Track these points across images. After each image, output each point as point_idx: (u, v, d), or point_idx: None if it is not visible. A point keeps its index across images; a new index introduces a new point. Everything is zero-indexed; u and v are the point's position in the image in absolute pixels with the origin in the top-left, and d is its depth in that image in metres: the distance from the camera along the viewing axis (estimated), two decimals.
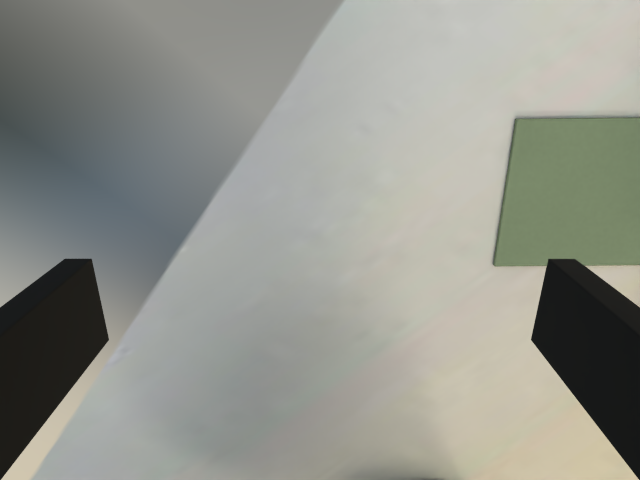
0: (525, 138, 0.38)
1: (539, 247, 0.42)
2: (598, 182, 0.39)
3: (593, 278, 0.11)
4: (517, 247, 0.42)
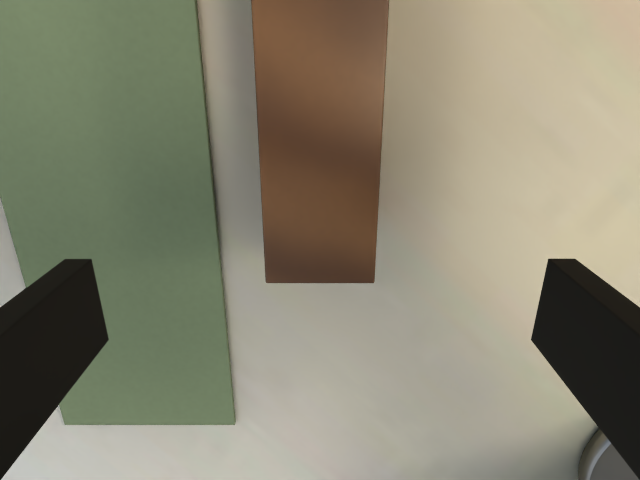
0: (82, 415, 0.35)
1: (206, 385, 0.34)
2: (115, 340, 0.33)
3: (593, 278, 0.11)
4: (208, 406, 0.35)
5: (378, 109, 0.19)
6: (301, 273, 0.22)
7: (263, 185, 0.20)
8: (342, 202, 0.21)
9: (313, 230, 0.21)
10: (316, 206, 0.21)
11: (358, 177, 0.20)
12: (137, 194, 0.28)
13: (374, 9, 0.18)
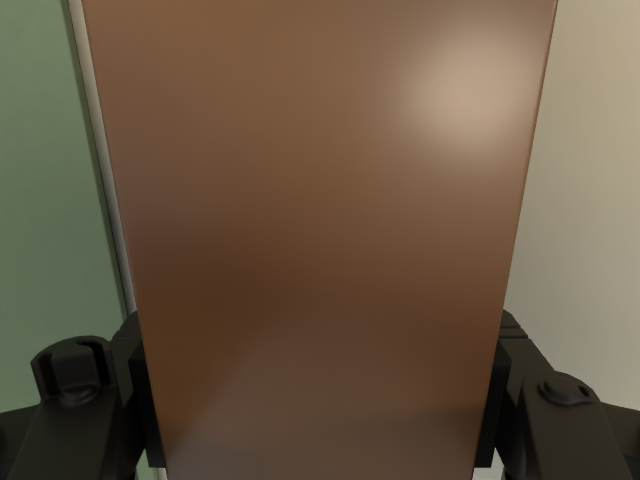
0: None
1: None
2: None
3: None
4: None
5: (508, 205, 0.06)
6: None
7: (159, 403, 0.07)
8: (381, 440, 0.08)
9: None
10: (309, 449, 0.08)
11: (430, 384, 0.07)
12: None
13: None
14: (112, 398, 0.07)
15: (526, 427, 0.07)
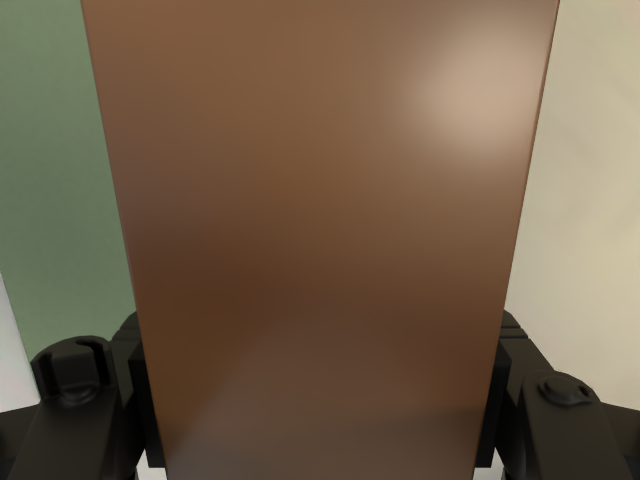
0: None
1: None
2: None
3: None
4: None
5: (509, 204, 0.06)
6: None
7: (159, 402, 0.07)
8: (381, 440, 0.07)
9: None
10: (310, 449, 0.08)
11: (431, 384, 0.07)
12: None
13: None
14: (112, 398, 0.07)
15: (526, 427, 0.07)
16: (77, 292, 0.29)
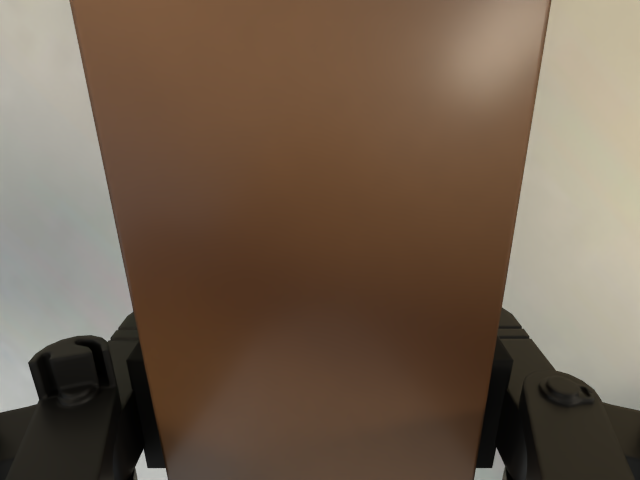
0: None
1: None
2: None
3: None
4: None
5: (505, 197, 0.06)
6: None
7: (158, 402, 0.07)
8: (382, 437, 0.07)
9: None
10: (310, 447, 0.08)
11: (430, 380, 0.07)
12: None
13: None
14: (111, 399, 0.07)
15: (528, 428, 0.07)
16: None
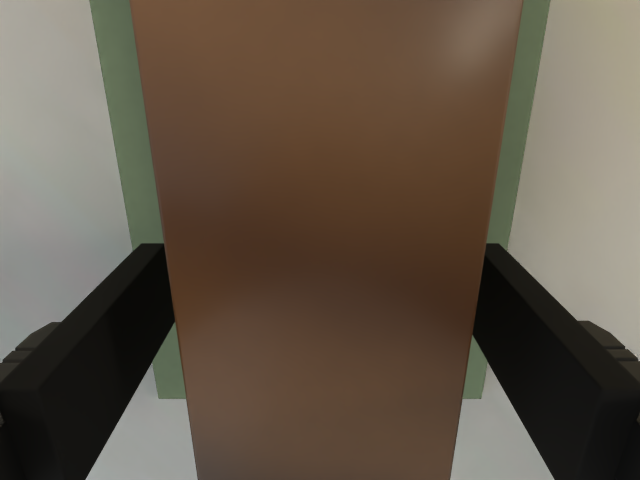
0: None
1: None
2: None
3: (508, 259, 0.12)
4: None
5: (484, 182, 0.07)
6: None
7: (185, 356, 0.08)
8: (378, 391, 0.09)
9: (308, 445, 0.09)
10: (315, 399, 0.09)
11: (420, 340, 0.08)
12: None
13: None
14: None
15: None
16: None
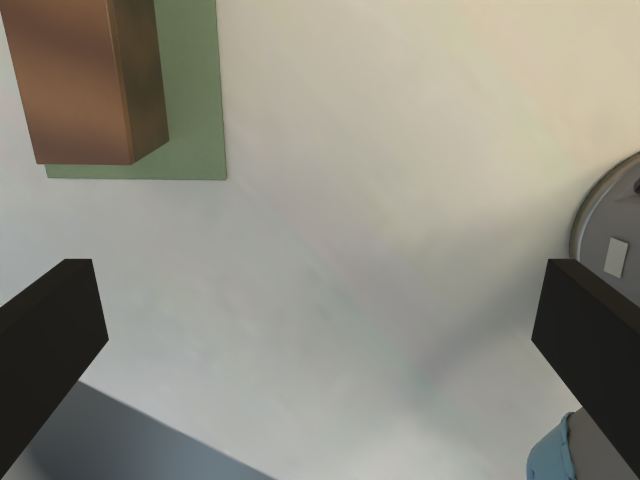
0: (66, 165, 0.34)
1: (197, 128, 0.33)
2: None
3: (593, 278, 0.11)
4: (198, 156, 0.34)
5: (102, 3, 0.23)
6: (65, 155, 0.26)
7: (16, 71, 0.24)
8: (88, 88, 0.24)
9: (68, 114, 0.25)
10: (66, 92, 0.24)
11: (98, 65, 0.24)
12: None
13: None
14: None
15: None
16: None
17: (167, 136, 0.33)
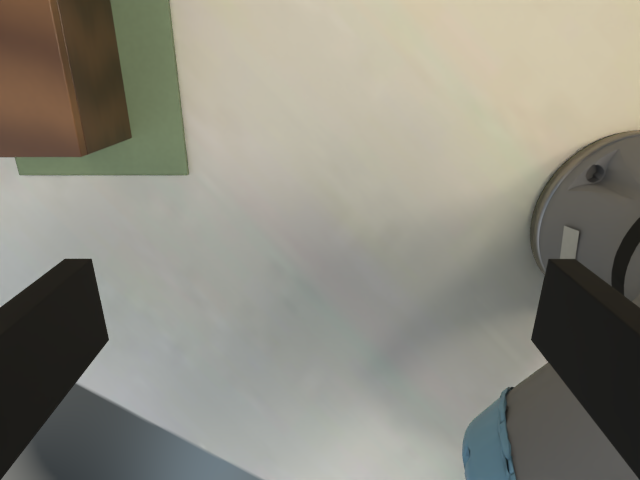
0: (36, 163, 0.36)
1: (157, 125, 0.35)
2: None
3: (593, 278, 0.11)
4: (160, 151, 0.35)
5: (46, 4, 0.24)
6: (20, 148, 0.27)
7: None
8: (37, 84, 0.26)
9: (20, 109, 0.26)
10: (17, 88, 0.26)
11: (45, 62, 0.25)
12: None
13: None
14: None
15: None
16: None
17: (129, 133, 0.34)
